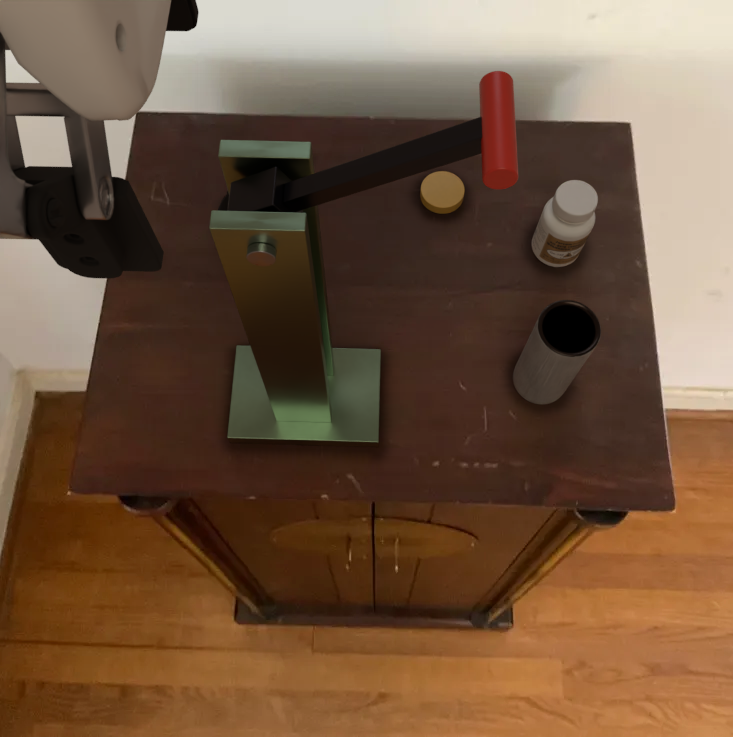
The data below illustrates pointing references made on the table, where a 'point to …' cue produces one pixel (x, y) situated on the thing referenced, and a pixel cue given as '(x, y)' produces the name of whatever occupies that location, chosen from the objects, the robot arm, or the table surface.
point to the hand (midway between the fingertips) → (136, 135)
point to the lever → (399, 159)
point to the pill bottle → (565, 224)
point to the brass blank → (442, 192)
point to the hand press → (288, 319)
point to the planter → (556, 351)
